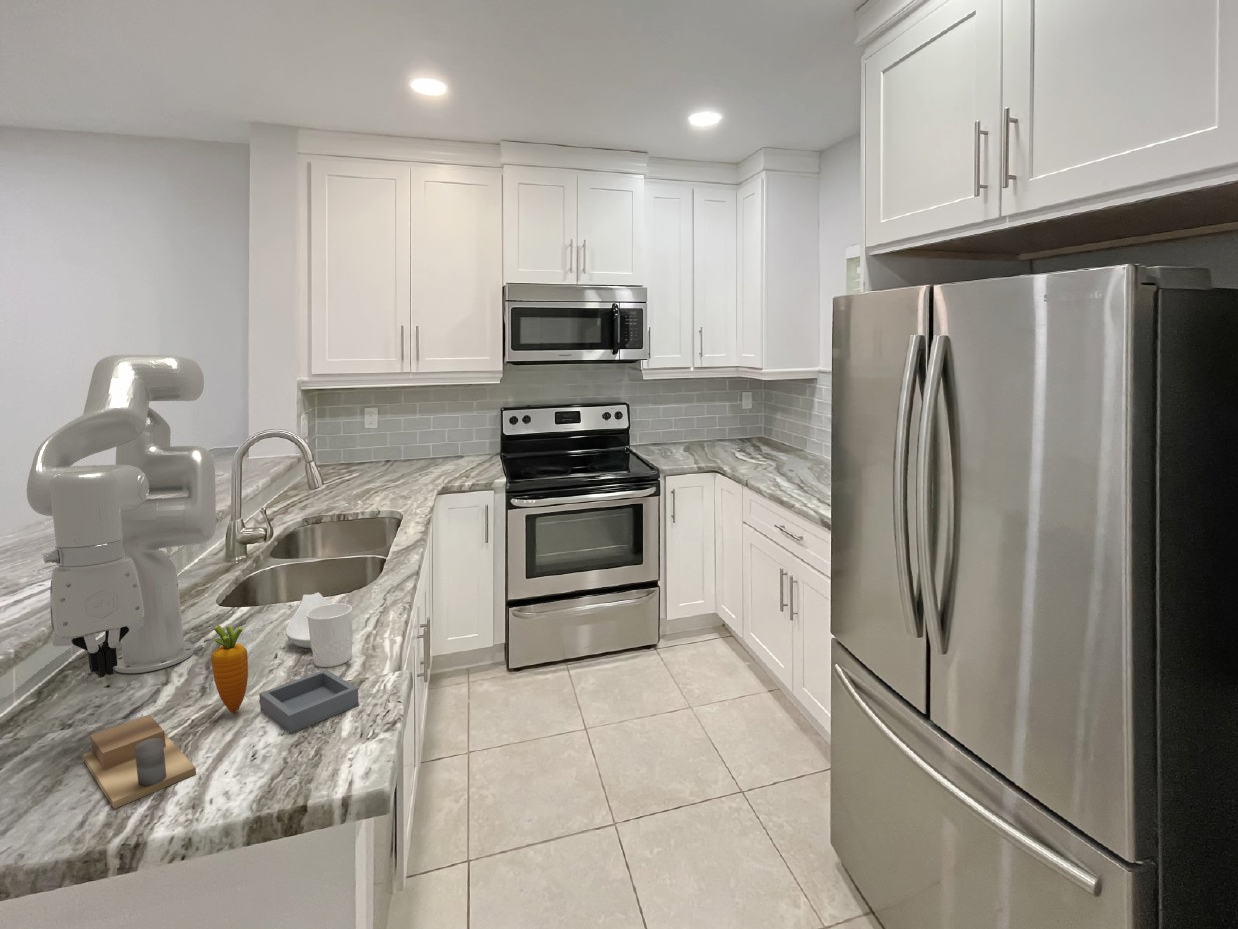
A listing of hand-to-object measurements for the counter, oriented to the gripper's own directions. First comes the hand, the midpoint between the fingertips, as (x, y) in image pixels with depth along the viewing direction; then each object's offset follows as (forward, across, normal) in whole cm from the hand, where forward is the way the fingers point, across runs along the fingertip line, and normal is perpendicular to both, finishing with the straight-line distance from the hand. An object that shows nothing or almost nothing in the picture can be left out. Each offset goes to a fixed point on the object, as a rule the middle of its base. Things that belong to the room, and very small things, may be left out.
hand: (104, 673), depth 93 cm
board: (+10, 0, -12) cm, 16 cm away
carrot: (+10, +14, -7) cm, 19 cm away
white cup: (+10, +34, 0) cm, 36 cm away
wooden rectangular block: (+9, 0, -8) cm, 12 cm away
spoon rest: (+10, +38, +16) cm, 43 cm away
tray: (+10, +23, -15) cm, 29 cm away
